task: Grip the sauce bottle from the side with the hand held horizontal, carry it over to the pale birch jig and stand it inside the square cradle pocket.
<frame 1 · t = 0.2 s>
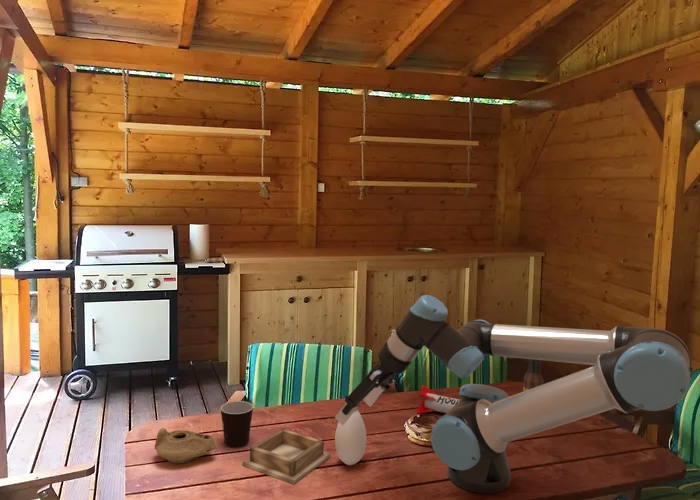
hand: (353, 411, 143), 15 cm above the table, tool tilted 35°, fingers open, 13 cm apart
oil lamp: (185, 458, 147), on the table
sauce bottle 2: (349, 464, 147), on the table
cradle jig: (287, 461, 147), on the table
coffee mug: (238, 440, 158), on the table
model rocket: (454, 416, 179), on the table
sauce bottle: (531, 419, 178), on the table
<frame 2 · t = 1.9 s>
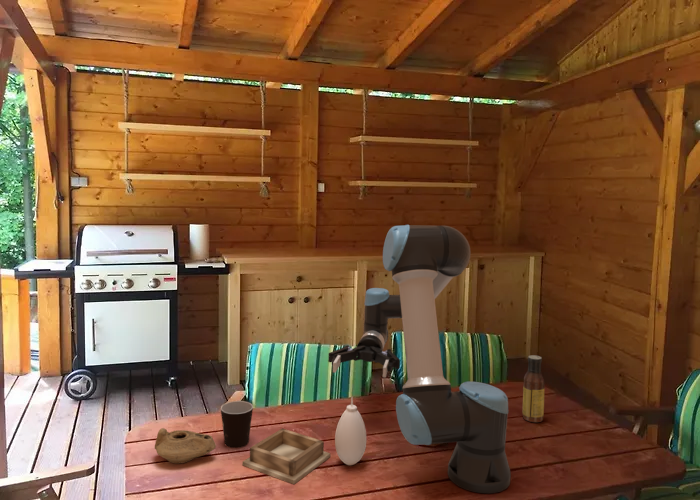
hand: (359, 370, 153), 22 cm above the table, tool horizontal, fingers open, 13 cm apart
nothing on the table moved.
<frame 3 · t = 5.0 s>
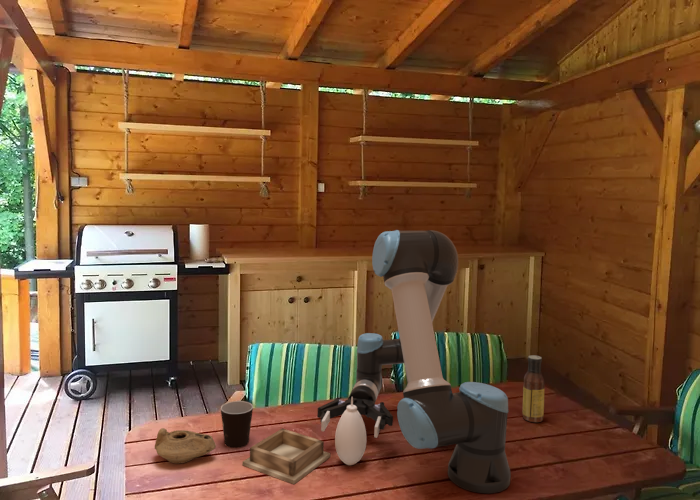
hand: (349, 429, 144), 10 cm above the table, tool horizontal, fingers open, 13 cm apart
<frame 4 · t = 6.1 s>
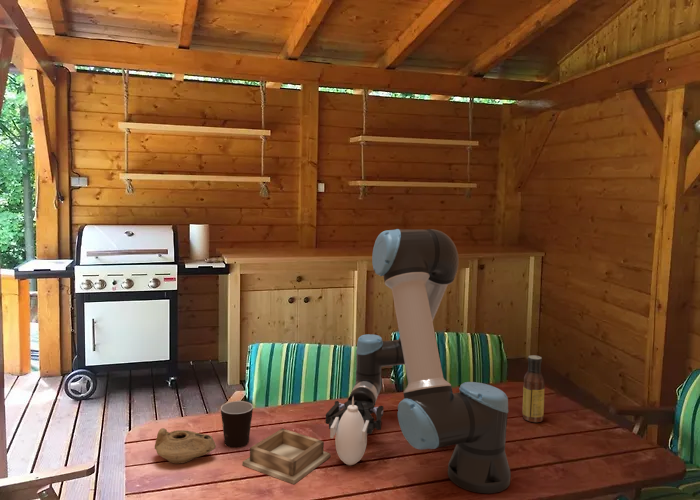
hand: (347, 434, 141), 10 cm above the table, tool horizontal, fingers closed on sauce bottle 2, 7 cm apart
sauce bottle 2: (349, 464, 147), on the table, touching gripper
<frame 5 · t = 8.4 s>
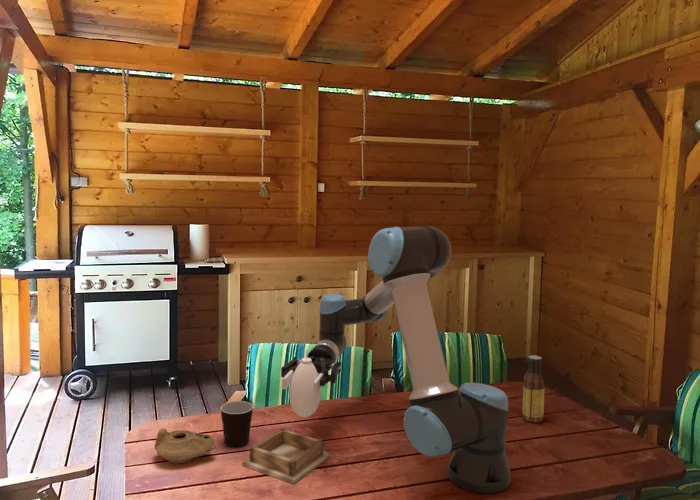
hand: (299, 386, 141), 22 cm above the table, tool horizontal, fingers closed on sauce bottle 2, 7 cm apart
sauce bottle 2: (304, 416, 147), point 11 cm above the table, touching gripper
when the fingers open (12 cm above the table, at t = 10.8 s): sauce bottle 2 stays where it is, resting on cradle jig.
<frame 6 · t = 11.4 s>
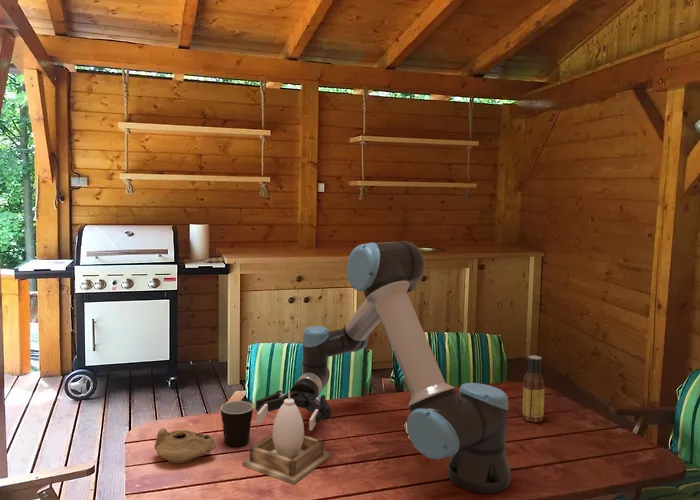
hand: (284, 422, 142), 12 cm above the table, tool horizontal, fingers open, 13 cm apart
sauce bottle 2: (287, 457, 147), point 1 cm above the table, touching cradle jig
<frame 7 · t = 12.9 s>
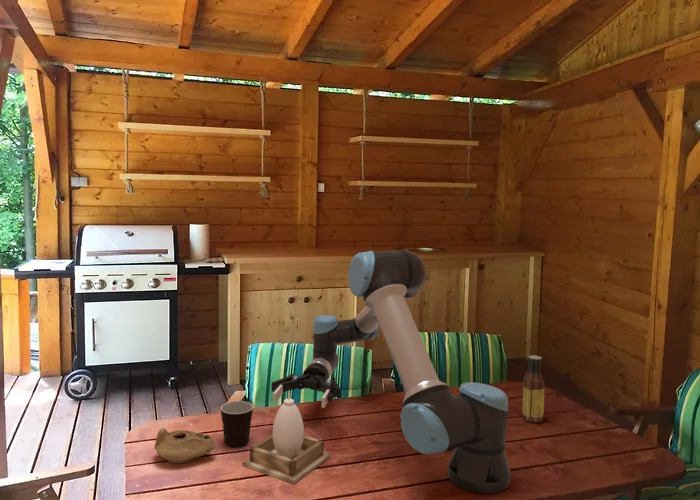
hand: (298, 400, 155), 12 cm above the table, tool horizontal, fingers open, 13 cm apart
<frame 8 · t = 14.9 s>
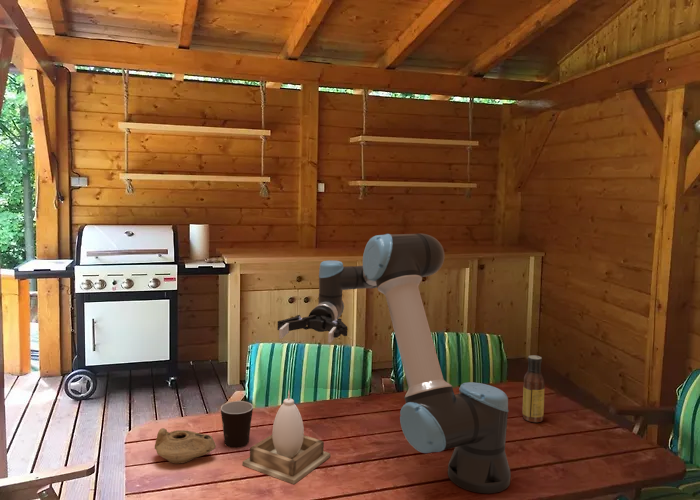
hand: (304, 336, 154), 30 cm above the table, tool horizontal, fingers open, 13 cm apart
at the end: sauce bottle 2 inside the target area on the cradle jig (0.2 cm from its centre), point 0.8 cm above the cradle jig's base; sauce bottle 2 tilted 0°; the gripper is holding nothing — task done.
